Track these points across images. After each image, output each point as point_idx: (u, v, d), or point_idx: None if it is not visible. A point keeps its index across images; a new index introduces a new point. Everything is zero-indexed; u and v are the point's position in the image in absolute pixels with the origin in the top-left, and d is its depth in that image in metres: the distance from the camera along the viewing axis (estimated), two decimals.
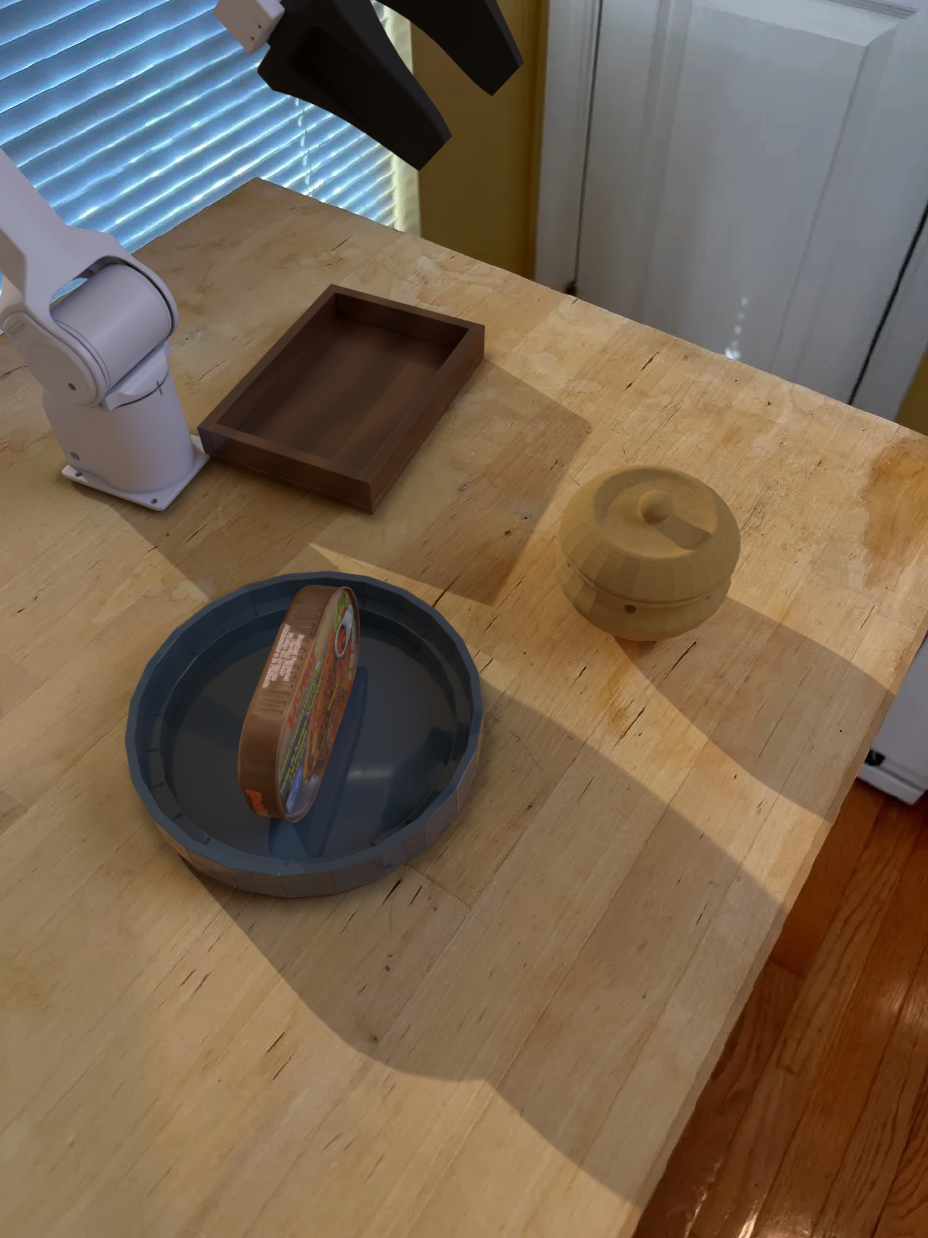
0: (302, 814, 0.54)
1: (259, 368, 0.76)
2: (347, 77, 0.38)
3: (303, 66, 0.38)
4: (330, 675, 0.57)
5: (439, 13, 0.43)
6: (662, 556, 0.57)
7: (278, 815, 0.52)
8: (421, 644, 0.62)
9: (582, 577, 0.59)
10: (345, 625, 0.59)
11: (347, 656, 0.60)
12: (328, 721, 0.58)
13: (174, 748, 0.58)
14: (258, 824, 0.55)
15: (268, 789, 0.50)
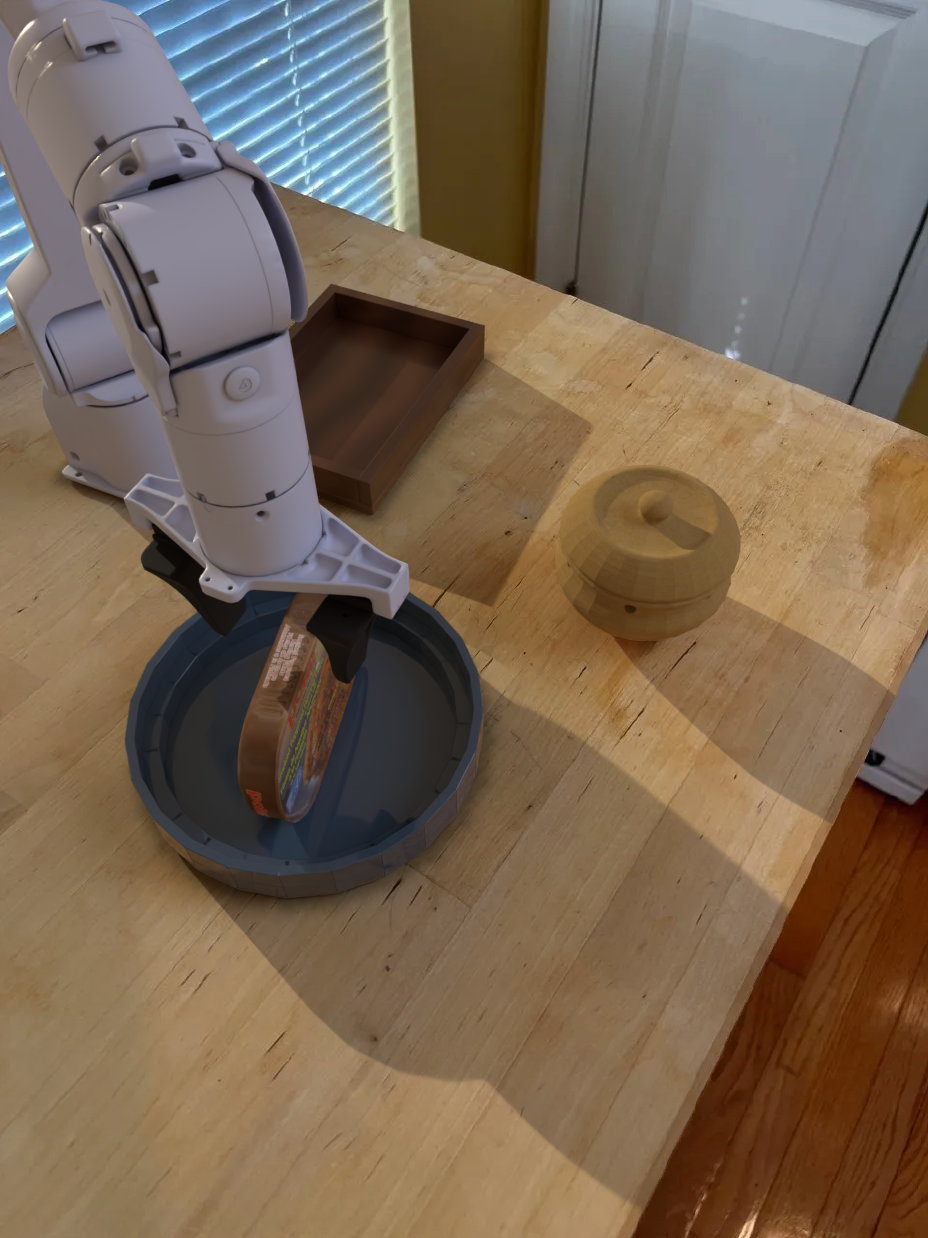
0: (302, 814, 0.54)
1: None
2: None
3: None
4: (330, 675, 0.57)
5: None
6: (662, 556, 0.57)
7: (278, 815, 0.52)
8: (421, 644, 0.62)
9: (582, 577, 0.59)
10: None
11: None
12: (328, 721, 0.58)
13: (174, 748, 0.58)
14: (258, 824, 0.55)
15: (268, 789, 0.50)
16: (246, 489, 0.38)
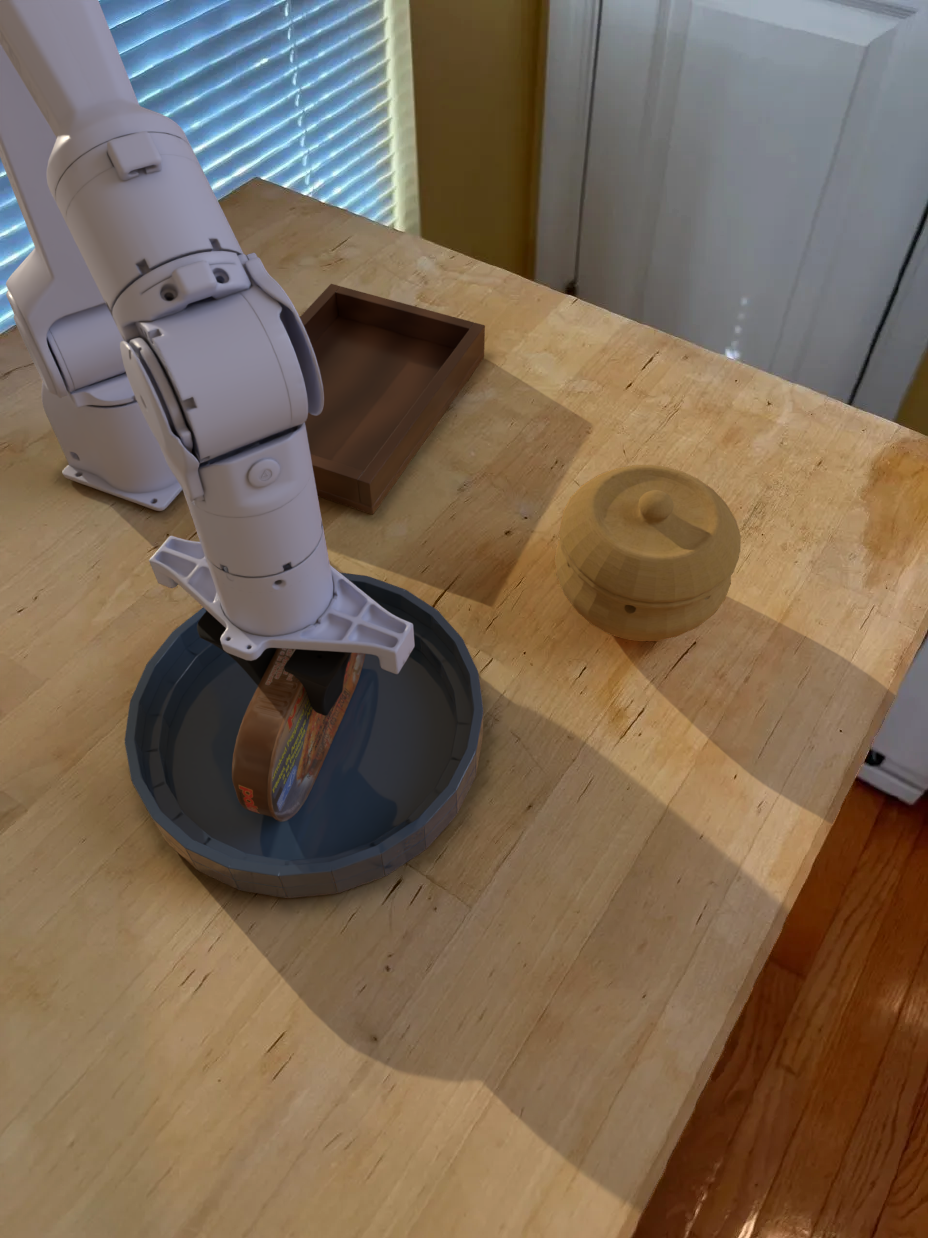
0: (292, 813, 0.54)
1: None
2: None
3: None
4: None
5: None
6: (662, 556, 0.57)
7: (268, 813, 0.52)
8: (421, 644, 0.62)
9: (582, 577, 0.59)
10: None
11: (353, 658, 0.60)
12: (327, 721, 0.58)
13: (174, 748, 0.58)
14: (258, 824, 0.55)
15: (260, 787, 0.50)
16: (265, 562, 0.42)
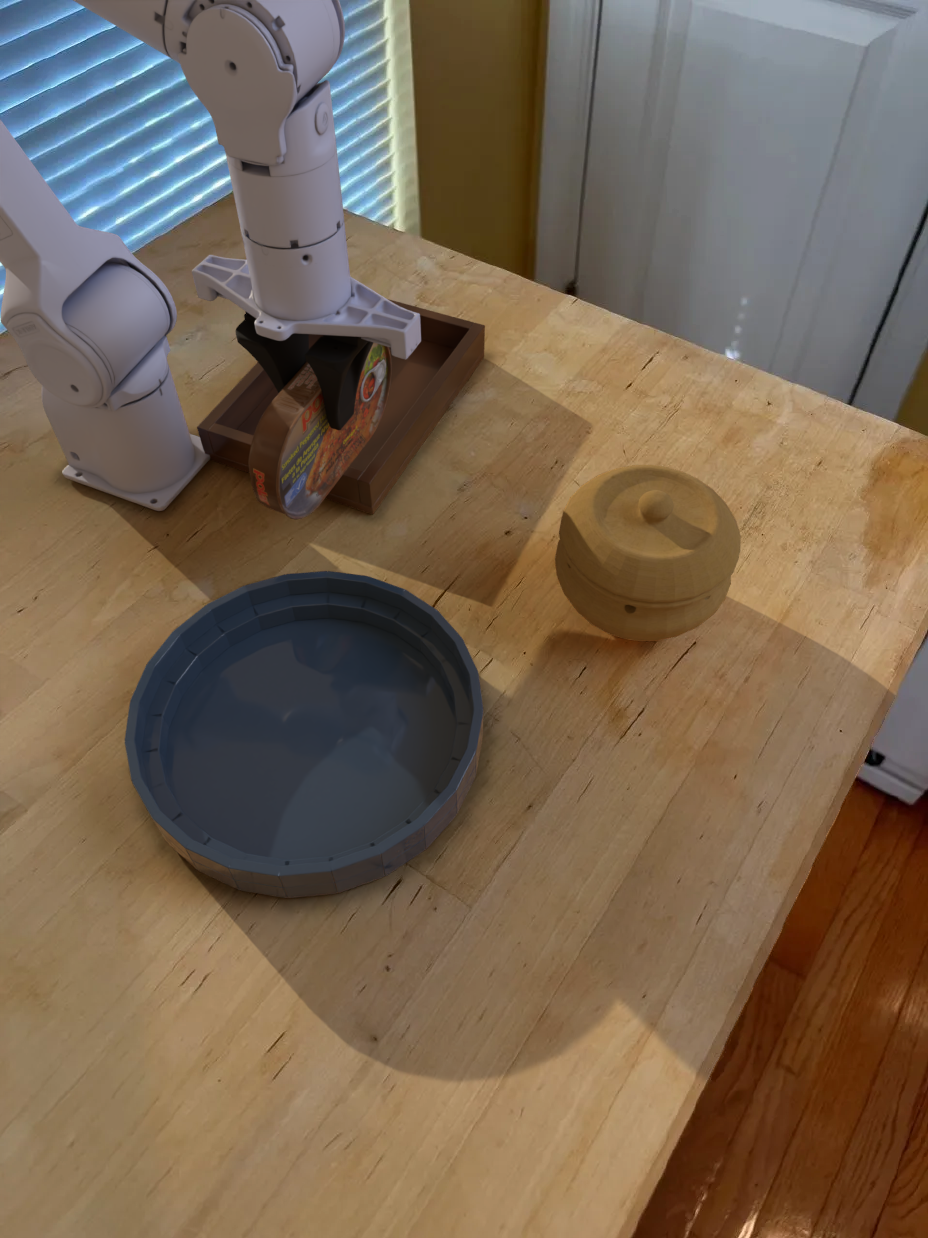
0: (297, 515, 0.62)
1: (259, 368, 0.76)
2: None
3: None
4: None
5: None
6: (662, 556, 0.57)
7: (275, 501, 0.59)
8: (421, 644, 0.62)
9: (582, 577, 0.59)
10: (375, 375, 0.66)
11: (372, 408, 0.68)
12: (341, 454, 0.66)
13: (174, 748, 0.58)
14: (258, 824, 0.55)
15: (271, 471, 0.58)
16: (327, 221, 0.50)
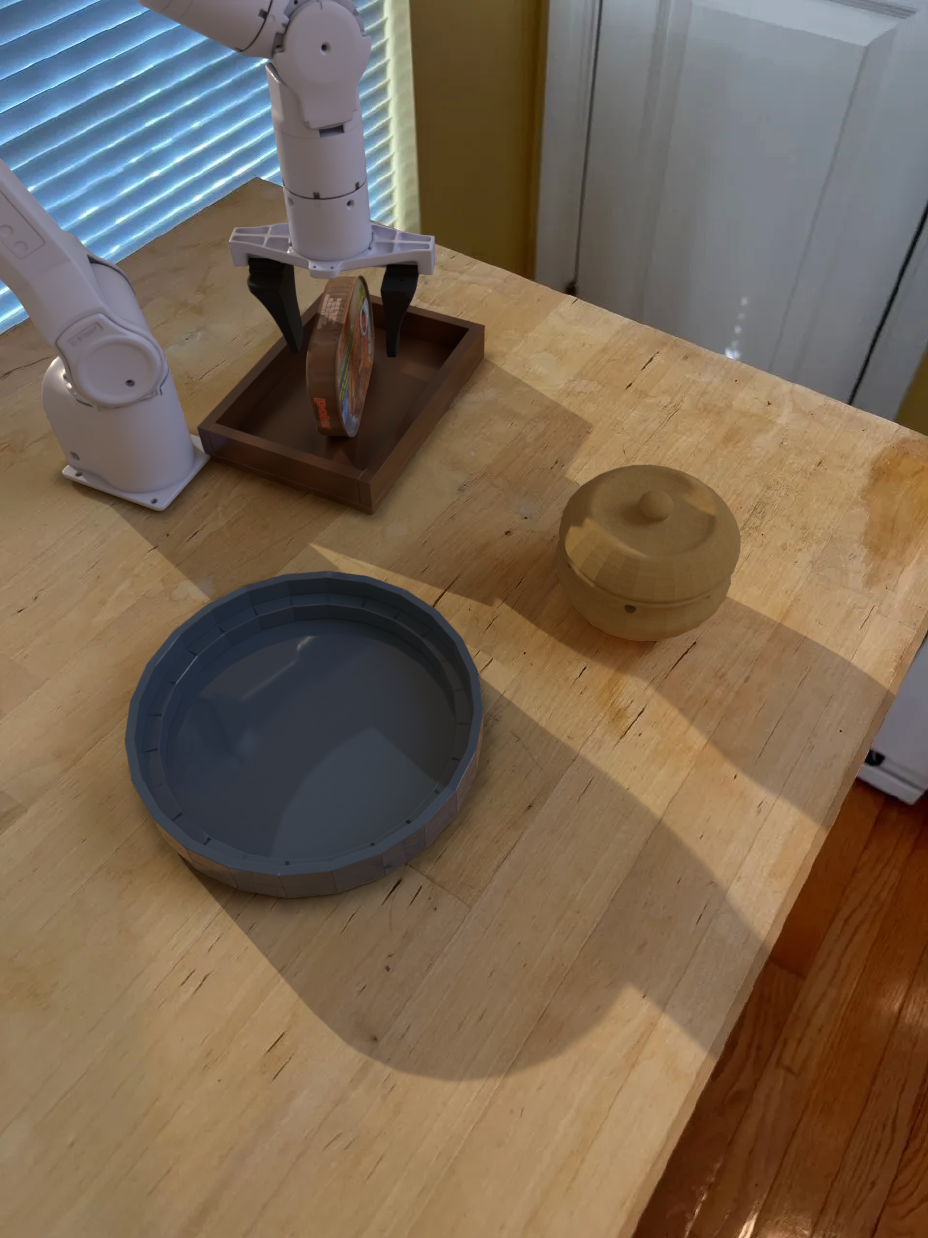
0: (351, 434, 0.73)
1: (259, 368, 0.76)
2: None
3: None
4: (358, 344, 0.76)
5: None
6: (662, 556, 0.57)
7: (337, 421, 0.71)
8: (421, 644, 0.62)
9: (582, 577, 0.59)
10: (365, 311, 0.78)
11: (366, 342, 0.80)
12: (359, 382, 0.77)
13: (174, 748, 0.58)
14: (258, 824, 0.55)
15: (330, 394, 0.69)
16: (365, 160, 0.63)
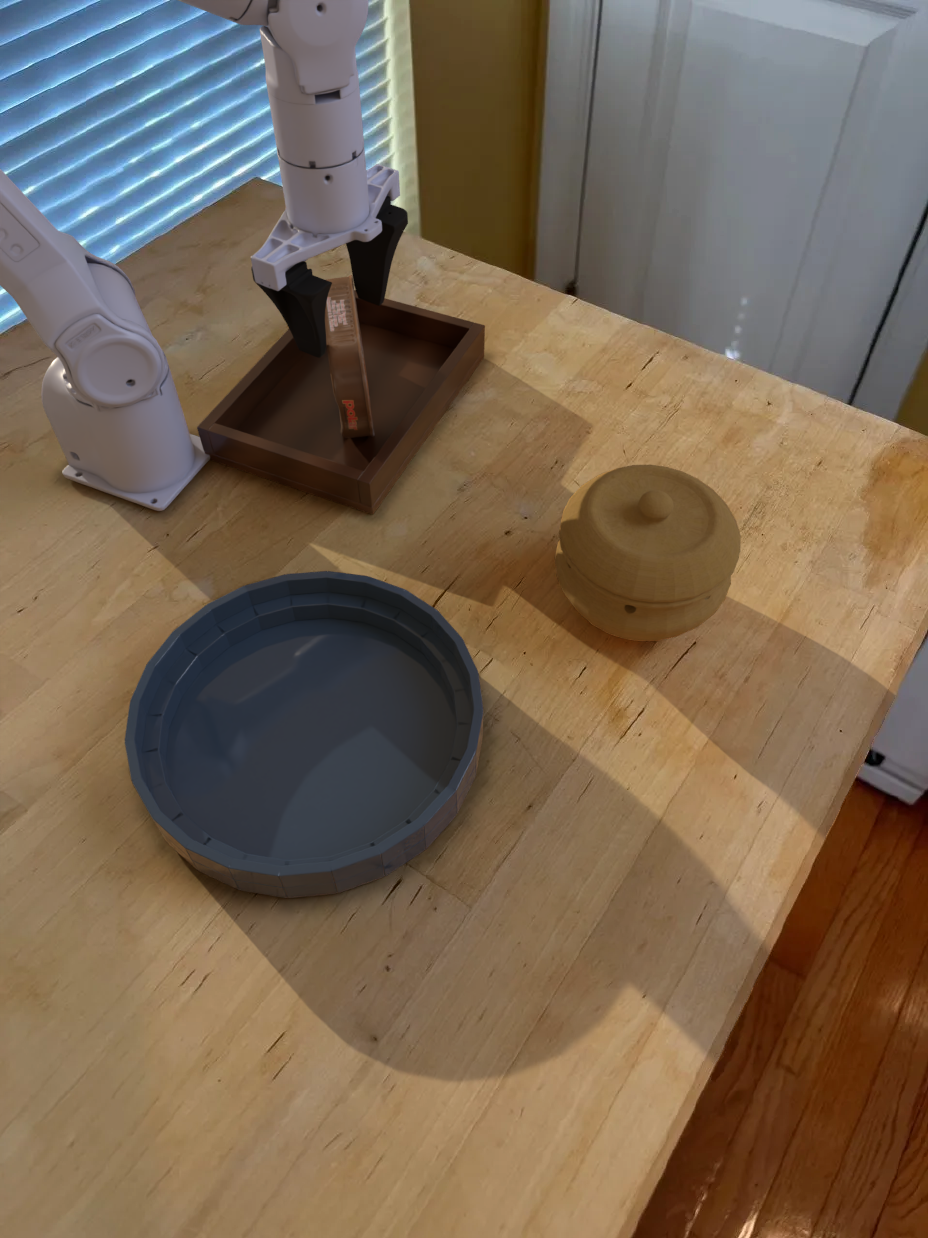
0: None
1: (259, 368, 0.76)
2: (294, 300, 0.67)
3: None
4: None
5: (359, 251, 0.71)
6: (662, 556, 0.57)
7: (365, 421, 0.71)
8: (421, 644, 0.62)
9: (582, 577, 0.59)
10: None
11: None
12: None
13: (174, 748, 0.58)
14: (258, 824, 0.55)
15: (359, 394, 0.69)
16: (362, 129, 0.61)
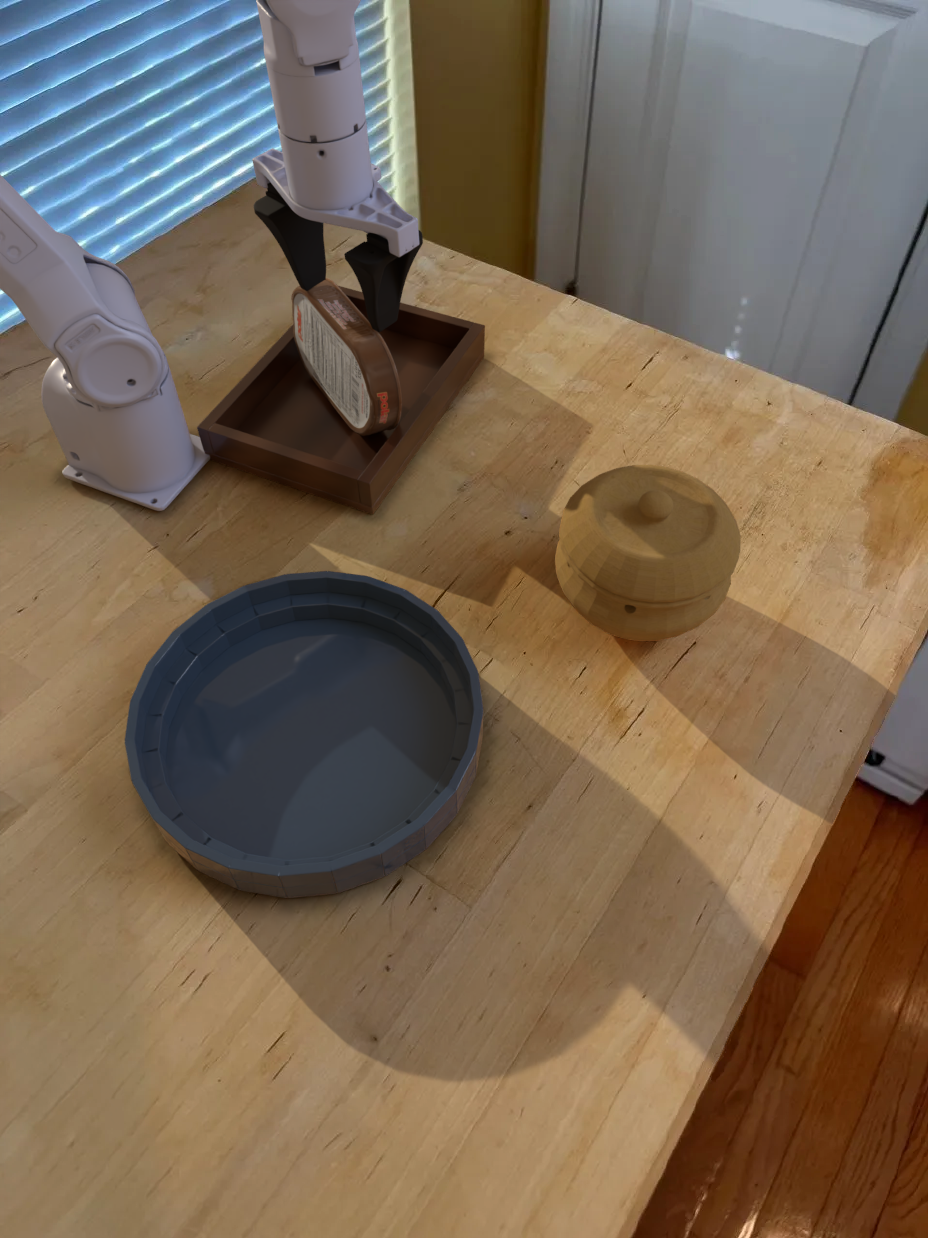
0: None
1: (259, 368, 0.76)
2: None
3: None
4: None
5: (300, 239, 0.69)
6: (662, 556, 0.57)
7: (395, 412, 0.71)
8: (421, 644, 0.62)
9: (582, 577, 0.59)
10: None
11: None
12: None
13: (174, 748, 0.58)
14: (258, 824, 0.55)
15: (391, 385, 0.70)
16: None
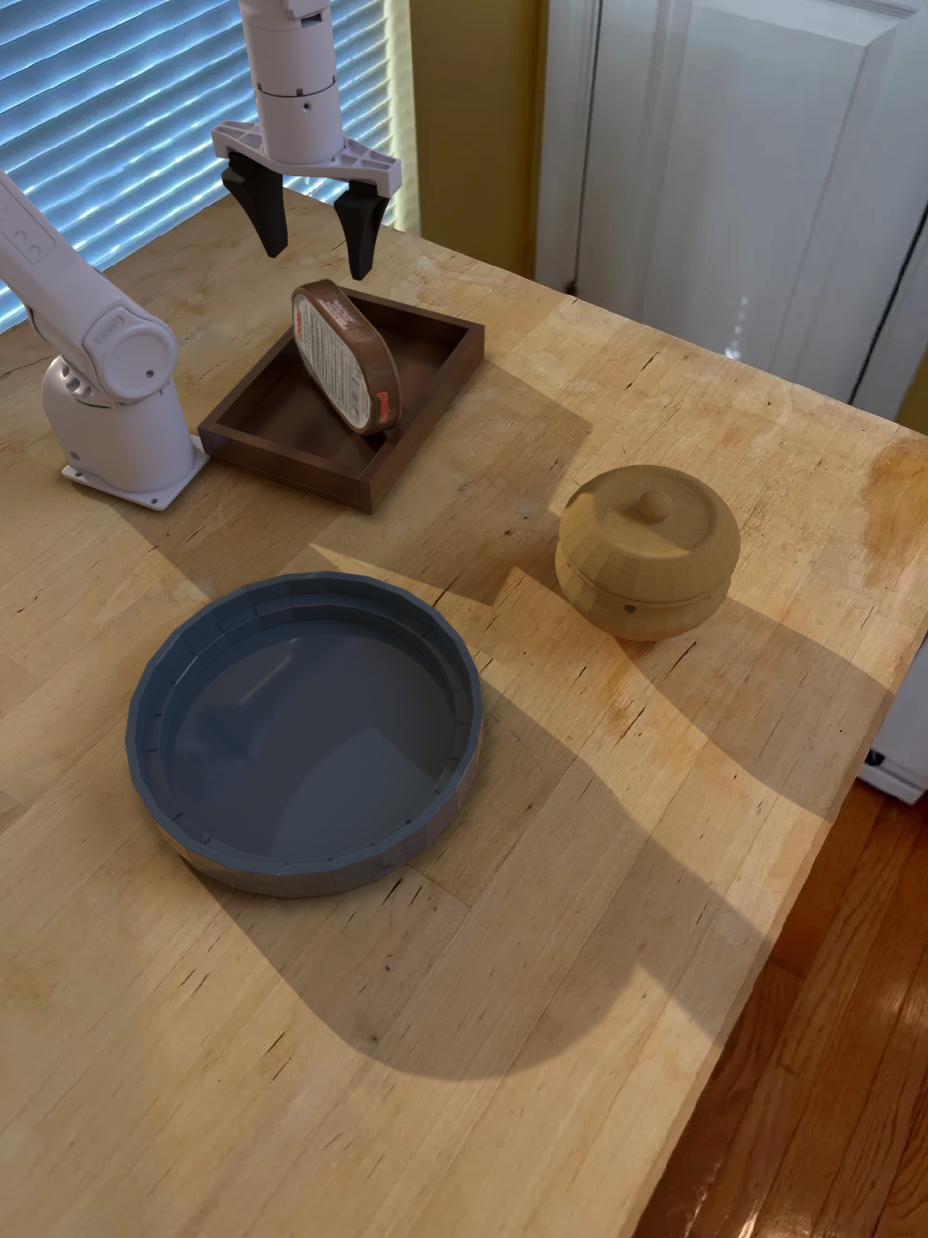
0: None
1: (259, 368, 0.76)
2: None
3: None
4: None
5: (267, 205, 0.71)
6: (662, 556, 0.57)
7: (395, 412, 0.71)
8: (421, 644, 0.62)
9: (582, 577, 0.59)
10: None
11: None
12: None
13: (174, 748, 0.58)
14: (258, 824, 0.55)
15: (391, 385, 0.70)
16: None
